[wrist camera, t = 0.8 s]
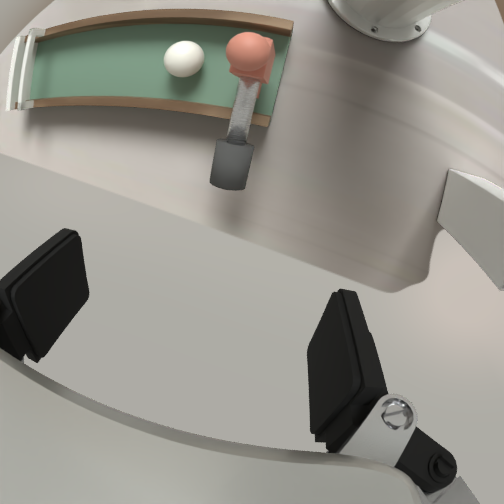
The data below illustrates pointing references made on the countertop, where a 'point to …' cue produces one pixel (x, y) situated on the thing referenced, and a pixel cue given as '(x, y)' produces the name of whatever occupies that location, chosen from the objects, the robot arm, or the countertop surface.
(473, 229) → the milk carton
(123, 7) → the countertop surface
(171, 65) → the egg
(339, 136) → the countertop surface
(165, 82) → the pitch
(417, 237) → the countertop surface
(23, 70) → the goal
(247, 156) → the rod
